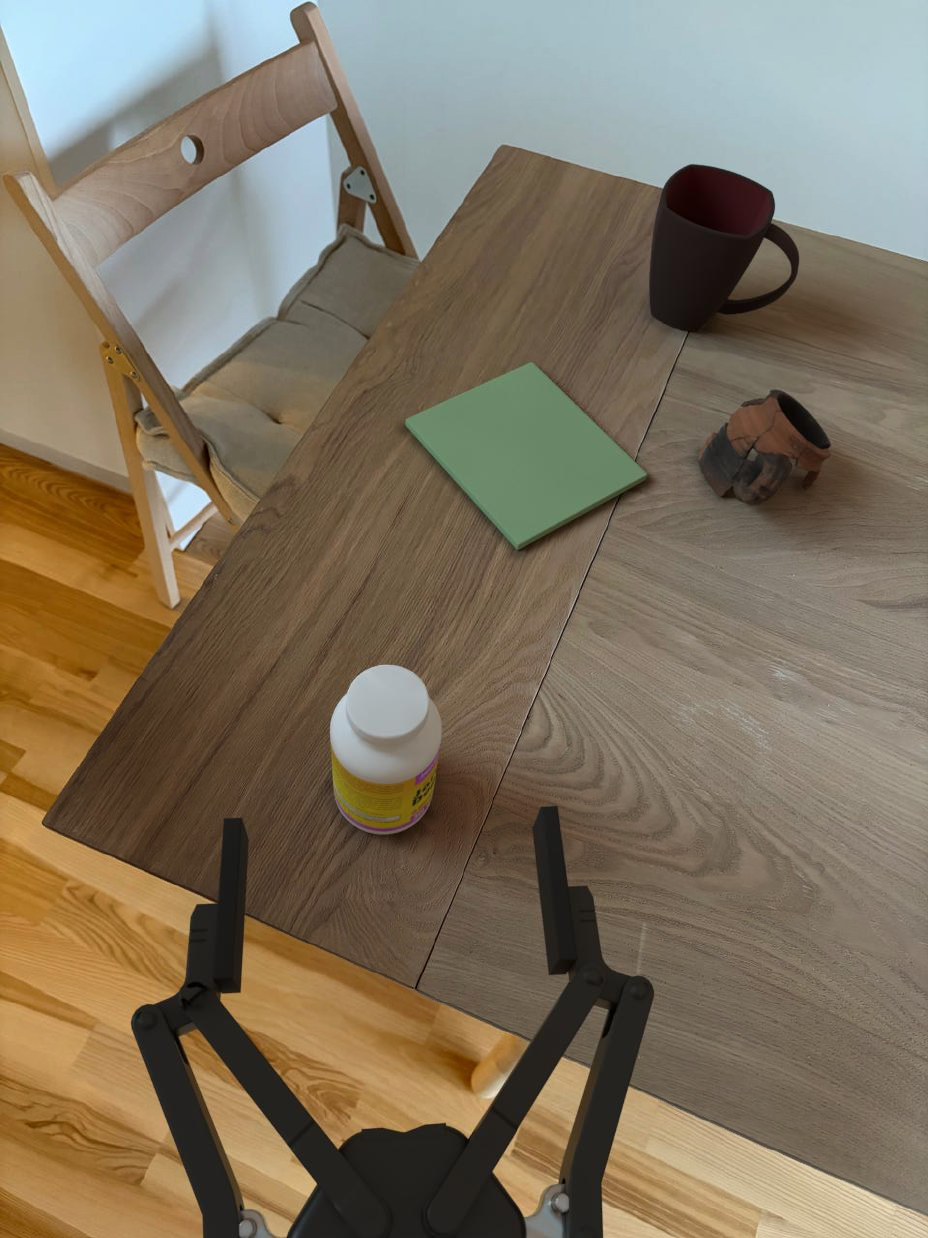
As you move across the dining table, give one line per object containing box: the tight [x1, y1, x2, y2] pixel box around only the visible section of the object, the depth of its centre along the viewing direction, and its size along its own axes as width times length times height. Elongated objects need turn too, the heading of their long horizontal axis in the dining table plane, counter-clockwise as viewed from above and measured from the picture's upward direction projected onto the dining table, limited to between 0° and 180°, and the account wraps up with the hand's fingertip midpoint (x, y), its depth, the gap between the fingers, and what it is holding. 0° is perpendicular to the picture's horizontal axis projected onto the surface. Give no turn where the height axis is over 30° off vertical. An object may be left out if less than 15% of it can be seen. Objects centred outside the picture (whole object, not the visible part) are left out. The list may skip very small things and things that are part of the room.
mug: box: [648, 163, 800, 333], centre depth 88 cm, size 10×14×12 cm
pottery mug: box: [697, 389, 832, 506], centre depth 79 cm, size 12×10×8 cm
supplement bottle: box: [329, 664, 443, 835], centre depth 58 cm, size 7×7×13 cm
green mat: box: [404, 361, 648, 551], centre depth 81 cm, size 16×14×1 cm
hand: (393, 822), depth 42 cm, fingers open, 13 cm apart
